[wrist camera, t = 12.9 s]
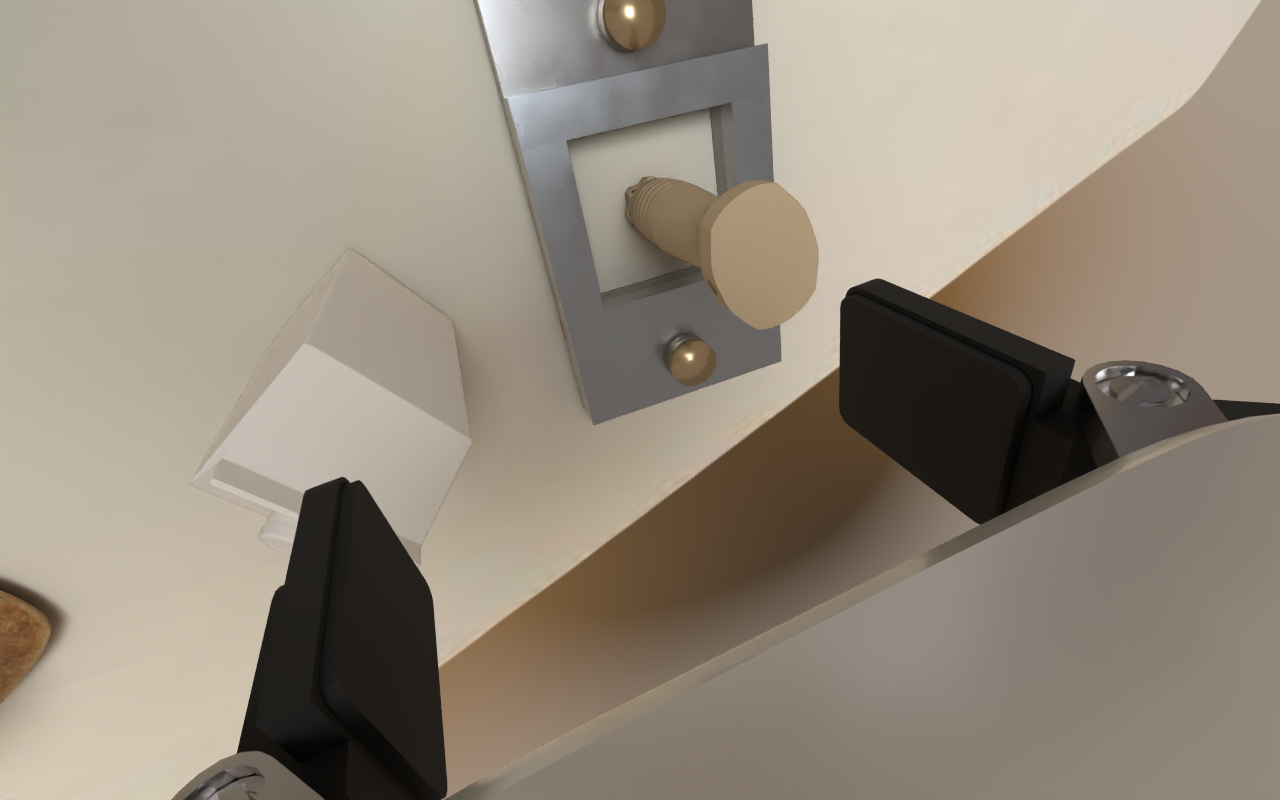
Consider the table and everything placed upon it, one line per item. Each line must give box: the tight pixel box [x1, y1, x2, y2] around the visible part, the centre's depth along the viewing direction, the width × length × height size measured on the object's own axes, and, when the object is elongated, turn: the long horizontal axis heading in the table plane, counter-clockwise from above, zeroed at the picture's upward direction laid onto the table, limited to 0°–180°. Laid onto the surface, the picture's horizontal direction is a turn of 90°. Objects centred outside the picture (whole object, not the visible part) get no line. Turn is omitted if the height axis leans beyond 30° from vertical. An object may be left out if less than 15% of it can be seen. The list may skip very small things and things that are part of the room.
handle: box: [625, 177, 818, 330], centre depth 30 cm, size 5×6×15 cm
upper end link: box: [504, 44, 781, 425], centre depth 36 cm, size 20×15×5 cm
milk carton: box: [189, 249, 472, 568], centre depth 26 cm, size 7×7×19 cm
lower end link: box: [474, 0, 754, 346], centre depth 34 cm, size 20×15×3 cm
